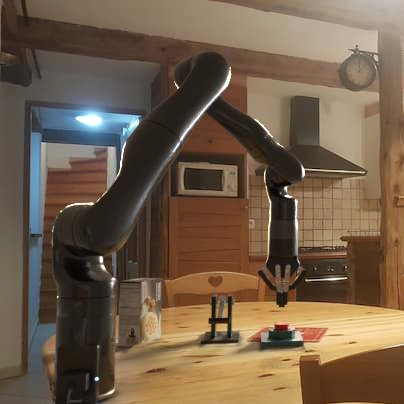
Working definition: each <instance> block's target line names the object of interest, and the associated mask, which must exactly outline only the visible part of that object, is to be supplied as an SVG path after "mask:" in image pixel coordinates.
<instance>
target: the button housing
mask: <svg viewBox="0 0 404 404" xmlns="http://www.w3.org/2000/svg"><path fill="white" fill-rule="evenodd" d="M267 329H268V330H267V331H262V332H260V347H261V348H264V349H265V348H287V347H288V348H289V347H291V348H292V347H304V343H305V340H304V338H303V336H302V334H301V331H300V330H296V329H295V327H292V326H289V330H284V331H278V330H274V326H272V327H269V328H267Z"/></svg>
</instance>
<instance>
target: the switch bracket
mask: <svg viewBox="0 0 404 404" xmlns="http://www.w3.org/2000/svg"><path fill="white" fill-rule="evenodd" d="M217 300H218V294H215V293H214V294H212V295H211V299H210V300H209V305H210V307H211V310H210V318H217V316H218V311H217V310H218V309H217ZM234 305H235V298H233V293H228V295H227V317H230V324H226V330H219V331H218V330H217V324H210V330H209V331H205V332H204V334H203V337H202V339H201V340H200V344H225V343H228V344H229V343H239V342H240V337H241V336H240V335H241V330H233V306H234ZM227 317H226V318H227Z"/></svg>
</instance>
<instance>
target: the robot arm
mask: <svg viewBox="0 0 404 404" xmlns="http://www.w3.org/2000/svg"><path fill="white" fill-rule="evenodd" d="M231 75H232V73H231V66H230V63H229V61H228V59H227V58H226V57H225V56H224V55H223V54H222V53H220V52H218V51H214V50H205V51H200V52H198V53H195V54H194V55H191V56H189V57H187V58H184V59H182V60H180V61H179V62H178V63H176V65H175V66H174V69H173V80H174V83H175V86H176V87H177V88H176V90H175V91H174V92H172V93H171V94H170V95H169V96H168V97H166V98H165V99H164V100H162V101H161V102H159V104H157V105H156V106H155V107H154V108H153V109H151V110H150V111H149V112H148V113H147V114H146V115H145V116H144V117H143V118H142V119H141V120H140V121H139V123H138V124H137V126H136V127H134V129H133V131H132V132H131V133H130V135H129V136H128V138H127V140H126V141H125V142H124V145H123V148H122V152H121V160H120V168H119V172H118V174H117V176H116V178H115V179H114V180H113V182H112V183H111V184H110V186H109V187H108V188H107V190H106V191H105V192H104V193H103V195H102V196H101V197H100V198H99V199H98V200H96V201H95V202H88V203H87V202H86V203H85V202H84V203H83V202H82V203H74V204H70V205H67V206H65V207H64V208H63V209H62V210H60V212H59V213H58V214H57V216H56V218H55V220H54V223H53V227H52V232H51V233H52V234H51V254H52V255H51V263H52V264H51V267H52V268H51V269H52V270H51V271H52V278H53V281H54V283H55V286H56V291H57V292H56V318H55V319H56V320H55V342H54V343H55V344H54V346H55V347H54V348H55V349H54V369H53V393H52V402H53V403H54V404H97V403H99V402H101V401H104V400H107V399H109V398H111V397H113V396H114V395H115V393H116V386H115V381H116V380H115V379H116V378H115V376H116V349H117V348H116V342H117V315H118V314H117V311H118V280H117V278H116V277H115V276H114V275H112V274H111V273H110V272H109V271H108V270H107V268H106V266H105V262H104V257H108V256H111V255H114V254H115V253H117V252H118V251H119V250H121V249H122V247H123V246H124V245H125V243H126V242H127V241H128V239H129V237H131V236H130V235H131V234H132V232H133V231H134V228H135V226H136V224H137V222H138V220H139V218H140V216H141V214H142V212H143V210H144V208H145V207H146V204H147V203H148V201H149V199H150V198H151V196H152V194H153V193H154V191H155V190H156V189H157V187H158V186H159V184H160V182H161V181H162V179H163V177H164V176H165V174H166V173H167V171H168V170H169V168H170V167H171V166H172V165H173V163H174V162H175V160H176V159H177V157H178V156H179V154H180V152H181V151H182V150H183V148H184V146H185V145H186V143H187V142H188V140H189V138H190V137H191V136H192V134H193V132H194V131H195V129H196V128H197V127H198V124H199V123H200V122H201V120H202V118H203V117H204V115H205V114H206V115H207V116H208V117H210V118H211V119H212V120H213V121H214V122H216V123H217V124H218V125H220V127H222V128H223V129H224V130H225V131H226V132H227V133H228V134H229V135H231V137H232V138H234V140H235V141H237V143H239V145H240V146H241V147H242V148H243V149H244V150H245V151H246V153H247V154H248V155H249V156H250V157H251V158H252V159H253V160H254V161H255V162H256V163H257V164H259V165H264V166H266V167H265V170H264V174H263V175H264V177H263V178H264V179H263V180H264V183H265V188H266V195H267V197H268V201H269V221H268V230H267V259H266V261H265V265H263V266H262V267H261V268H259V269H258V270H257V275H258V276H259V277H260V278H261V280H262V281H263V283H264V284H265V285H266V286H267V287H268V289H269V290H271V291H274V292H275V305H276V306H278V308H285V307H286V306H287V305H288V302H289V292H290V291H294V290H296V288H297V287H298V285H299V284H300V283H301V282H302V280H303V279H304V278H305V277H306V276H307V274H308V270H307V269H305V268H304V267H303V266H301V263H300V261H299V224H298V213H299V212H298V211H299V210H298V209H299V208H298V207H299V205H298V204H299V203H298V199H297V198H295V197H293V196H290V195H289V193H288V188H292V187H297V186H299V185H301V184H302V182H303V181H304V180H305V179H304V178H305V174H306V173H305V168H304V166H303V164H302V162H301V161H300V160H299V159H298V158H297V157H296V156H295V155H294V154H293V153H292V152H290V151H289V150H288V149H286V148H285V147H284V146H282V145H280V144H279V143H278V142H277V140H275V138H274V137H273V136H272V135H271V134H270V133H269V131H268V130H267V129H266V127H264V125H263V124H261V123H260V122H259V121H258V120H257V119H255V118H254V117H252V116H250V115H249V114H247V113H245V112H244V111H242V110H240V109H239V108H237V107H235V106H234V105H232V104H231V103H230V102H229V101H227V100H226V99H225V98H224V97H223V96H222V94H223V93H224V91H225V90H226V89H227V88H228V86H229V84H230V81H231ZM268 272H269V273H270V274H271V275H272V277H273V278H275V284H274V283H273V282H272V281H271V279H270V278H269V277H268V276H267V275H268ZM294 274H297V276H296V278H295V279H294V280H293V281H292V282H291V283H290V278H292V277H293V276H294ZM282 278H283V284H282Z"/></svg>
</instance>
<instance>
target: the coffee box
mask: <svg viewBox="0 0 404 404" xmlns="http://www.w3.org/2000/svg"><path fill="white" fill-rule="evenodd" d="M118 287H119V288H118V333H117V334H118V335H117V346H118V347H123V348H133V347H134V346H136V345H141V344H144V343H145V344H146V343H148V342H151V341H153V340H156V339H160V338H162V313H163V312H162V309H163V308H162V307H163V306H162V305H163V303H162V302H163V277H138V278H132V279H131V278H130V279H126V280H125V279H124V280H120V281H119V282H118Z"/></svg>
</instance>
